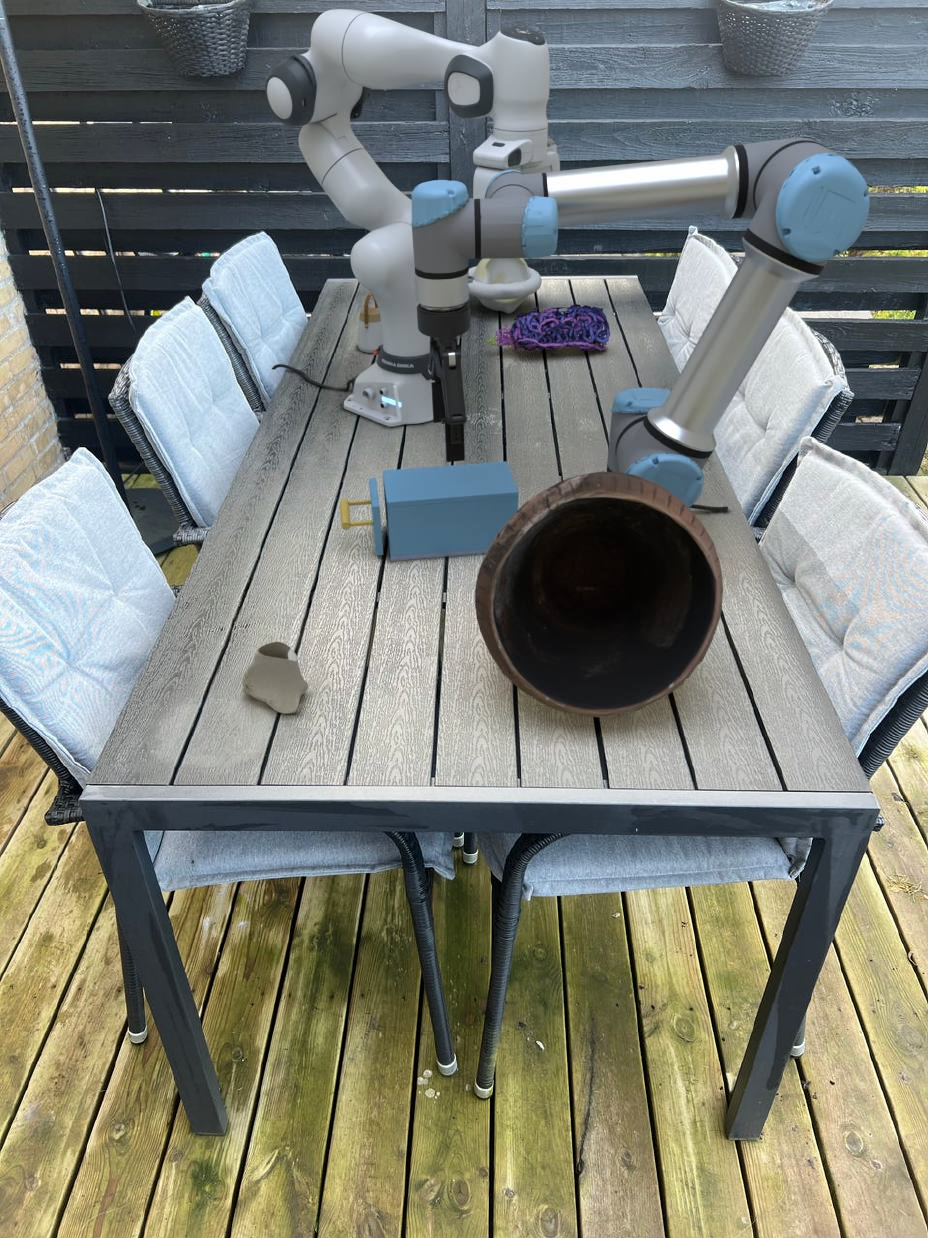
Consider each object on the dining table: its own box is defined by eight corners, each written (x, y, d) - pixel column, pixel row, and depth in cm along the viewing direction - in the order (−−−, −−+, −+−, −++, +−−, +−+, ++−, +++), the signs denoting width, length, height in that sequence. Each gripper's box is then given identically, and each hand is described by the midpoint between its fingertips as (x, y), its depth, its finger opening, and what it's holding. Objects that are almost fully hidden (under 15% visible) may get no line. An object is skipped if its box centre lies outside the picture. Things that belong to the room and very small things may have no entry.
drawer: (344, 558, 155) (339, 509, 149) (342, 527, 163) (337, 480, 157) (495, 545, 158) (495, 497, 152) (486, 516, 165) (486, 469, 160)
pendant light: (382, 354, 227) (374, 226, 209) (352, 350, 230) (341, 223, 212) (395, 343, 234) (388, 216, 215) (366, 339, 236) (356, 214, 218)
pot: (520, 423, 138) (555, 432, 109) (702, 511, 144) (783, 542, 115) (430, 616, 144) (441, 674, 115) (608, 693, 150) (662, 767, 121)
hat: (455, 295, 261) (454, 240, 252) (532, 292, 263) (534, 237, 254) (465, 327, 242) (464, 268, 233) (548, 323, 244) (550, 264, 235)
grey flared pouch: (308, 702, 131) (315, 635, 129) (297, 722, 124) (304, 652, 121) (246, 693, 131) (251, 626, 129) (231, 713, 124) (236, 642, 121)
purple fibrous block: (616, 330, 219) (490, 333, 216) (609, 367, 227) (487, 369, 225) (606, 296, 227) (484, 298, 224) (599, 332, 235) (482, 335, 233)
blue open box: (391, 561, 156) (386, 502, 149) (386, 527, 164) (382, 470, 158) (516, 550, 158) (518, 491, 151) (506, 517, 167) (507, 460, 160)
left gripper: (540, 133, 159) (537, 219, 167) (466, 154, 146) (466, 245, 155) (571, 138, 156) (566, 225, 164) (498, 159, 143) (496, 252, 152)
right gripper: (485, 331, 121) (487, 475, 134) (455, 273, 141) (459, 403, 154) (428, 336, 120) (436, 481, 133) (406, 277, 140) (414, 408, 153)
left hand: (517, 235), depth 159 cm, fingers open, 8 cm apart
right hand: (448, 440), depth 144 cm, fingers open, 13 cm apart
